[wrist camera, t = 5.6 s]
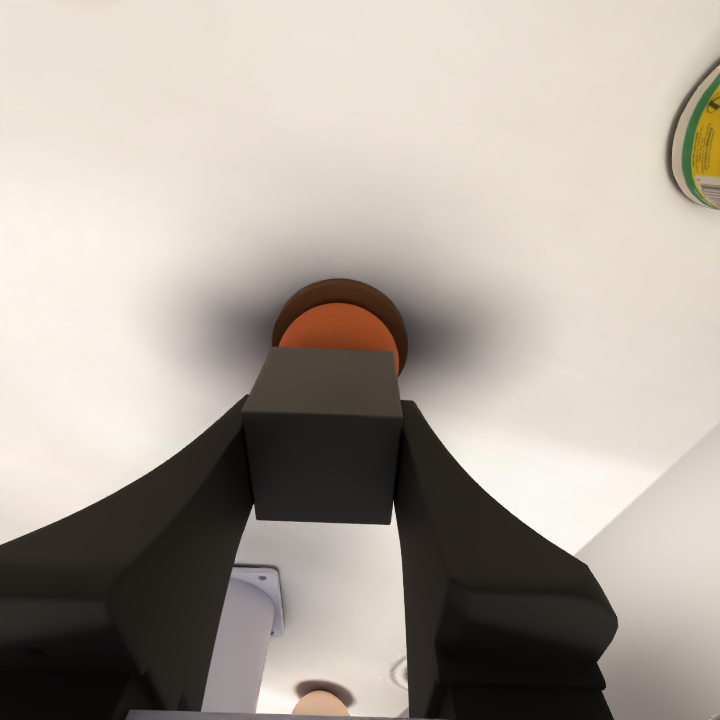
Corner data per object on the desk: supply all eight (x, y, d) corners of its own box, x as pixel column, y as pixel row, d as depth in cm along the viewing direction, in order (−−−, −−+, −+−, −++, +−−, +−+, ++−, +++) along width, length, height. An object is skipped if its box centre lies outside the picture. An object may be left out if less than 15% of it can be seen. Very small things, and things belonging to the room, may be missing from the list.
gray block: (279, 440, 14) (255, 521, 11) (272, 345, 12) (240, 411, 9) (385, 444, 14) (390, 525, 11) (393, 350, 13) (403, 417, 9)
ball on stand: (281, 388, 19) (257, 459, 15) (272, 272, 16) (238, 317, 12) (399, 393, 19) (409, 464, 15) (411, 277, 16) (428, 324, 12)
